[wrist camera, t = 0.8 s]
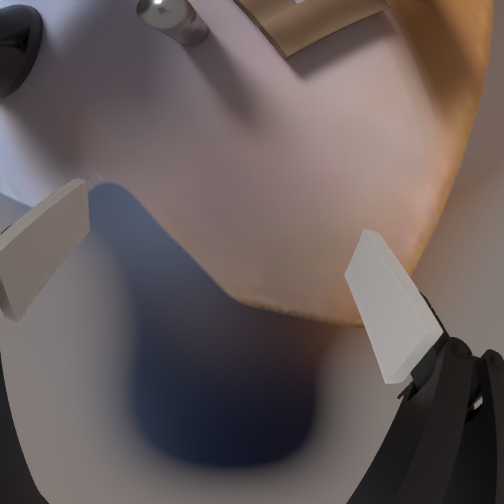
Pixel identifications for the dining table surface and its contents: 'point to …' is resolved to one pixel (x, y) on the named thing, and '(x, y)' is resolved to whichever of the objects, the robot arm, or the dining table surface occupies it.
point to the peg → (174, 20)
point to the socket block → (306, 19)
